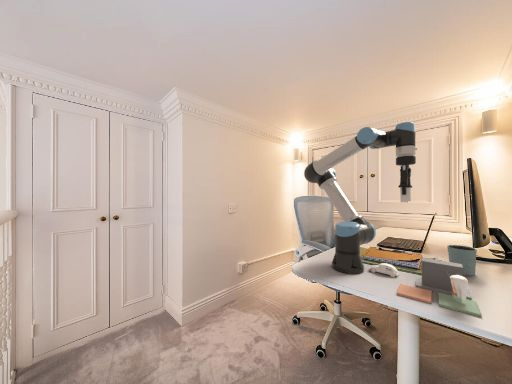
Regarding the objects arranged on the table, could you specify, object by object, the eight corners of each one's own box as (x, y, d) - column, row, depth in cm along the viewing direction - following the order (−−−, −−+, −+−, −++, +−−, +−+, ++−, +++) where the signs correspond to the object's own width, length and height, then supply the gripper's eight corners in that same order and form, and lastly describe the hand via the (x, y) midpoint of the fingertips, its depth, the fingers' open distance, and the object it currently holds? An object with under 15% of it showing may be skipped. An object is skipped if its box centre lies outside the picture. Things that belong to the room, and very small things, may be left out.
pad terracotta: (397, 294, 79) (397, 292, 79) (400, 285, 86) (400, 283, 86) (431, 303, 72) (431, 301, 72) (431, 292, 80) (431, 290, 80)
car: (399, 274, 98) (399, 264, 98) (397, 278, 93) (397, 268, 93) (371, 268, 106) (371, 259, 106) (368, 272, 101) (368, 262, 101)
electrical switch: (446, 283, 87) (443, 261, 88) (430, 281, 91) (428, 260, 91) (444, 276, 95) (441, 256, 95) (430, 274, 98) (427, 255, 99)
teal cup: (475, 278, 92) (475, 251, 92) (445, 271, 100) (445, 247, 100) (477, 272, 99) (477, 247, 99) (449, 266, 107) (449, 243, 107)
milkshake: (446, 296, 75) (446, 269, 75) (467, 301, 72) (467, 273, 72) (447, 301, 72) (447, 273, 72) (469, 307, 68) (469, 277, 68)
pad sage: (439, 305, 71) (439, 303, 71) (438, 294, 78) (438, 292, 78) (481, 317, 64) (481, 314, 64) (476, 303, 72) (476, 301, 72)
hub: (415, 287, 84) (415, 260, 84) (416, 280, 90) (416, 255, 90) (471, 300, 74) (471, 270, 74) (468, 292, 80) (468, 264, 80)
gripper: (413, 151, 84) (414, 203, 84) (417, 158, 103) (417, 200, 103) (391, 153, 89) (392, 202, 89) (399, 160, 108) (399, 200, 108)
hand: (405, 201), depth 96 cm, fingers open, 13 cm apart
